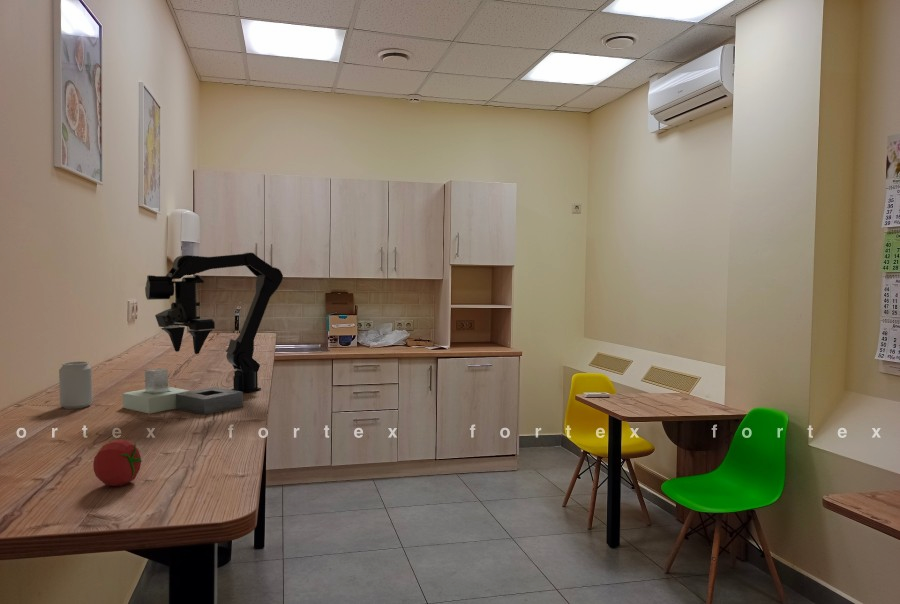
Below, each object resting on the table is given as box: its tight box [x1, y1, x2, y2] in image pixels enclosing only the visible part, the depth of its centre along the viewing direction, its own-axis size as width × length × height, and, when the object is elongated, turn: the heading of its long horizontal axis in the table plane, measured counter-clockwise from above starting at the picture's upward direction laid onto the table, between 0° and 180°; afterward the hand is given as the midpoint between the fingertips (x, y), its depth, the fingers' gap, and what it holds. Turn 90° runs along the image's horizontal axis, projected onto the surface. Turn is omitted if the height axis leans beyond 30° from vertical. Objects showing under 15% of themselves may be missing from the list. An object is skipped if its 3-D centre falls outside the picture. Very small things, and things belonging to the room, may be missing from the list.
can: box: [58, 360, 93, 410], centre depth 167 cm, size 8×8×12 cm
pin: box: [144, 367, 169, 395], centre depth 168 cm, size 4×4×10 cm
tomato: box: [92, 439, 143, 487], centre depth 108 cm, size 8×8×8 cm
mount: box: [175, 386, 244, 416], centre depth 167 cm, size 12×12×4 cm
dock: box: [122, 386, 191, 414], centre depth 168 cm, size 12×12×4 cm
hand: (186, 352), depth 179 cm, fingers open, 9 cm apart
